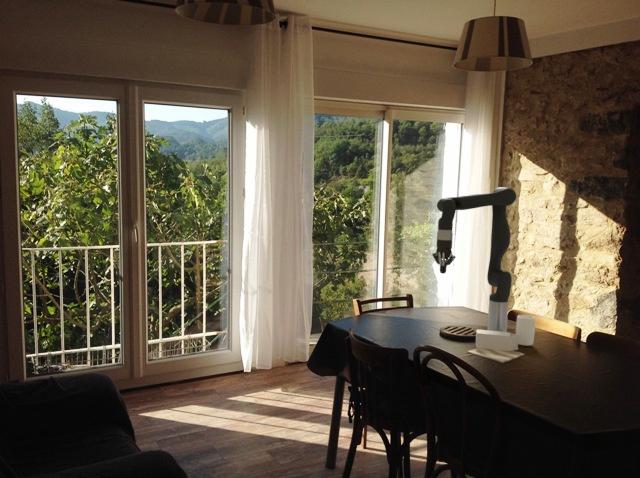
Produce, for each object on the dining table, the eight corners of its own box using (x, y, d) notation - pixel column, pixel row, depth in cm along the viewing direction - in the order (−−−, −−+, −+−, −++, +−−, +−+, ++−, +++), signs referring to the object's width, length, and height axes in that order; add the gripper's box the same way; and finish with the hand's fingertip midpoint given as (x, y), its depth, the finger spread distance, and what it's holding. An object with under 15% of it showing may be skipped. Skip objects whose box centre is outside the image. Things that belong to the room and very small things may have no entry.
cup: (534, 344, 272) (536, 316, 271) (532, 349, 265) (534, 319, 263) (515, 342, 276) (517, 313, 274) (513, 346, 268) (515, 317, 267)
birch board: (489, 345, 269) (489, 344, 269) (524, 355, 255) (524, 353, 255) (467, 352, 257) (467, 351, 257) (502, 362, 244) (502, 361, 244)
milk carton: (475, 347, 262) (518, 352, 258) (476, 333, 261) (519, 337, 257) (475, 343, 269) (517, 347, 264) (476, 329, 268) (518, 332, 264)
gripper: (460, 239, 276) (458, 274, 278) (438, 236, 286) (436, 270, 288) (451, 240, 271) (449, 275, 273) (429, 237, 281) (427, 271, 283)
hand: (442, 273), depth 280 cm, fingers closed
